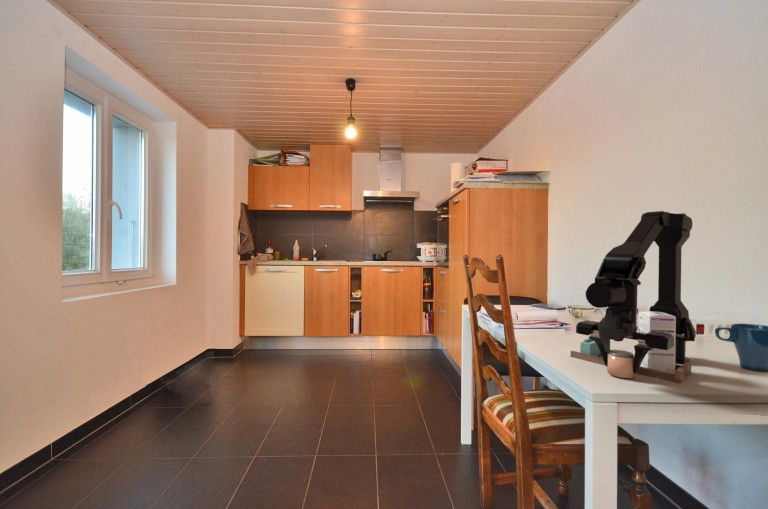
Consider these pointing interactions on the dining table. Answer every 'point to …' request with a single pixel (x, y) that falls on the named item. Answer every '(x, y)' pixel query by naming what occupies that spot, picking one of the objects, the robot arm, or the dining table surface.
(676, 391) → the dining table surface
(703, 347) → the dining table surface
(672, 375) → the lane
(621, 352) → the jar
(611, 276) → the robot arm
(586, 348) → the block
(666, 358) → the syrup box
